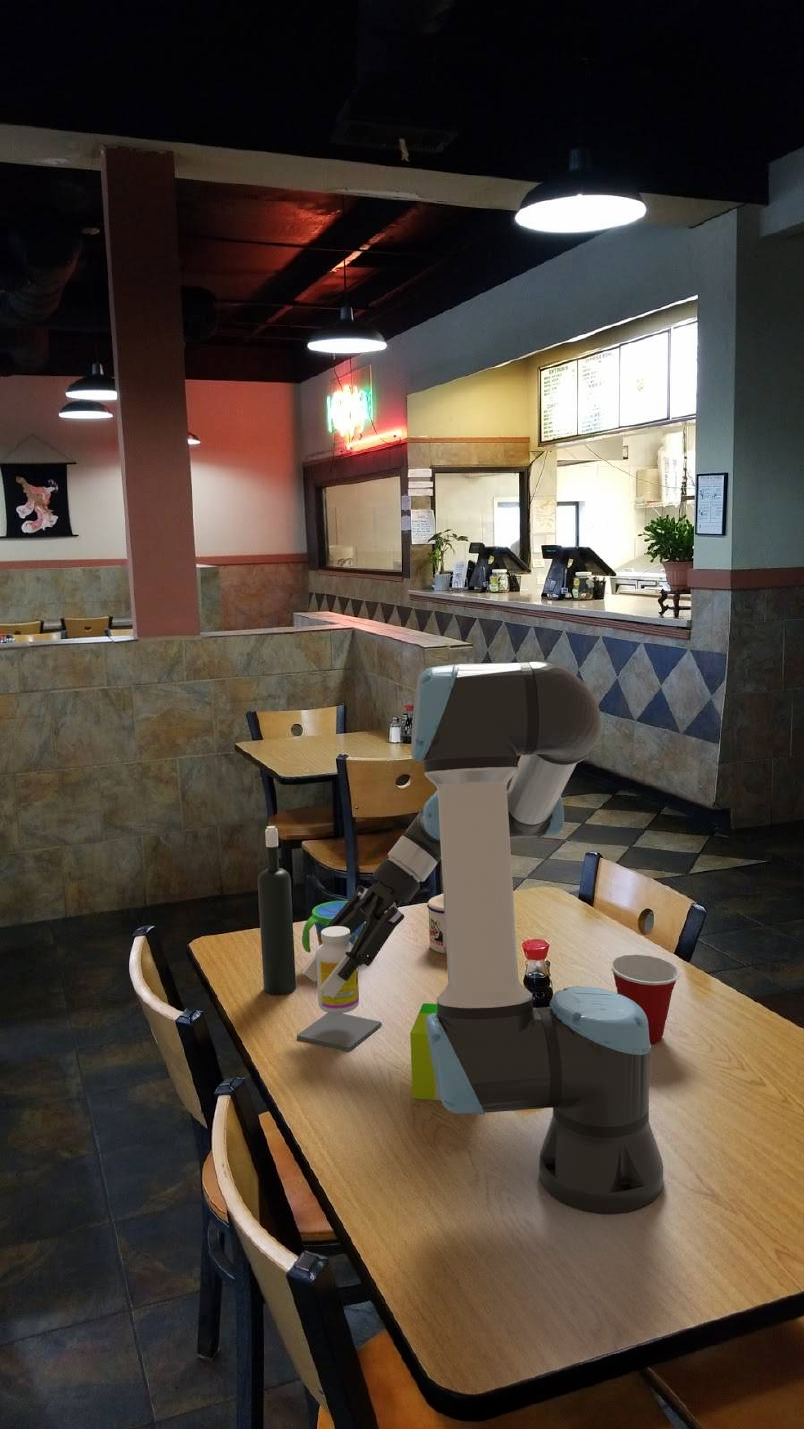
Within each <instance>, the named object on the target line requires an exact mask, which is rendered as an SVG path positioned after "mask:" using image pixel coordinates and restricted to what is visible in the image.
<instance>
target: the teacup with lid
mask: <svg viewBox="0 0 804 1429" xmlns="http://www.w3.org/2000/svg"><path fill="white" fill-rule="evenodd" d="M426 906H427V909H428V934H429V935H428V936H429V938H428V939H429V947H430V949H431V950H433V951H435V952H437V953H440V954H446V955H447V951H446V933H445V915H444V897H443V892H442V893H441V894H439V895H438V894H437V895H436V896H433V897H431V898H430V899H429V900H428V901H427V904H426Z"/></svg>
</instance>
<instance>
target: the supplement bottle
mask: <svg viewBox="0 0 804 1429" xmlns="http://www.w3.org/2000/svg"><path fill="white" fill-rule="evenodd" d="M321 940H322V942H323V944H322V945H320V946H319V945H318V947H317V949H316V951H315V955H316V965H317V983H316V984H317V1001H318V1007H319V1008H320V1010H322V1011H323V1012H325V1013H326V1014H327V1013H332V1014H340V1013H343V1014H347V1013H349V1012H352V1011H354V1010H355V1009H357V1007H358V1006H359V1004H360V988H359V970H358V968H359V966H358V967H357V968H356V970H355V971H354V972H353V974H352V975H351V976H350V978H349V979H348V980H347V981H346V982H345V983H344V985H343V986H342V987H341V989H340V990H339V991H338V993H337V994H336V995H335V997H334V998H331V997H330V996H329V995H327V994H326V993H325V992H323V991H322V990H321V989H320V987H321V985H322V984H323V983H324V981H325V980H326V979H327V978H328V976H329V975H330V974H331V972H332V971H333V970H334V968H335V967H336V966H337V964H338V963H339V962H340V960H341V959H342V958H343V956H344V955H346V952H351V950H352V948H353V946H354V945H353V944H352V943H350V942H349V940H350V930H349V929H348V928H346V927H342V926H333V927H328V928H325V929H323V930H322V931H321ZM346 956H347V955H346ZM347 957H348V956H347Z"/></svg>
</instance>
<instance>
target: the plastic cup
mask: <svg viewBox="0 0 804 1429" xmlns="http://www.w3.org/2000/svg"><path fill="white" fill-rule="evenodd" d="M609 964H610V970H611V971H612V973H613V978H614V985H615V987H616V993H618V994H620V995H623V996H625V997H627V998H629V999H631V1000H632V1001H634V1002H635V1003H636V1004H638V1005H639V1006H640V1007H641V1008H642V1010H643V1011H644V1013H645V1014H646V1017H647V1020H648V1028H649V1040H650V1044H651V1046H652V1045H656V1044H659V1043H660V1042H661V1041H662V1040H663V1036H664V1032H665V1028H666V1027H665V1026H666V1023H667V1022H666V1021H667V1018H668V1015H669V1014H668V1013H669V1009H670V1004H671V999H672V994H673V991H674V988H675V984H676V983H677V981H678V979H679V977H681V975H682V974H681V970H680V968H679V967H678V966H677V965H676V964H674V963H673V962H671V961H668V960H667V959H664V958H662V957H658V956H653V955H650V954H640V953H639V954H638V953H631V954H628V953H627V954H622V955H619V956H616V957H613V959H611V961H610V962H609Z"/></svg>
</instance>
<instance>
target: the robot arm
mask: <svg viewBox="0 0 804 1429" xmlns="http://www.w3.org/2000/svg"><path fill="white" fill-rule="evenodd" d="M416 682H417V684H416V687H415V694H414V701H413V702H414V703H413V708H412V709H413V710H412V711H413V712H412V720H411V721H412V722H411V734H410V735H411V736H410V738H411V739H410V740H411V747H410V748H411V751H410V754H411V758H412V760H413V761H416V762H419V763H421V762H423V772H424V776H425V777H426V778H427V779H428V780H429V781H430V782H431V783H432V784H433V785H434V786H435V787H436V789H437V790H436V791H435V792H434V793H433V794H432V795H431V796H430V797H429V798H428V799H427V800H426V802H425V803H424V805H423V807H422V809H420V811H419V813H418V814H417V815H416V817H415V818H414V819H413V821H412V822H411V824H409V826H408V828H407V829H405V830H406V831H405V832H404V833H403V834H402V835H401V836H400V837H399V839H398V840H397V841H396V843H395V844H394V845H393V847H392V848H391V849H390V851H388V853H387V856H388V859H387V858H385V859H383V860H382V861H381V862H380V863H379V865H378V866H377V867H376V869H375V870H374V871H373V874H372V876H373V878H374V879H375V882H374V883H373V884H372V885H371V886H369V887H368V888H366V887H364V886H363V885H362V884H359V885H358V886H357V887H356V889H355V891H354V892H353V894H352V895H351V897H350V898H349V899H348V900H347V901H348V902H347V903H346V904H345V905H344V907H343V908H342V909H341V910H340V911H339V912H338V914H337V915H336V916H335V917H334V918H333V920H332V921H331V922H330V923H329V924H328V926H327V927H326V928H328V927H333V926H342V927H346V928H348V929H349V930H350V935H351V934H352V933H353V932H354V931H356V930H357V929H358V928H359V927H360V926H361V925H362V924H363V923H364V922H365V924H364V926H363V928H362V930H361V932H360V934H359V936H358V938H357V940H356V942H355V944H354V946H353V948H352V950H351V952H346V955H347V956H348V957H347V956H346V955H344V956H343V958H342V959H341V960H340V962H339V963H338V964H337V966H336V967H335V968H334V970H333V971H332V972H331V974H330V975H329V976H328V978H327V979H326V980H325V981H324V983H323V984H322V985H321V987H320V989H321V990H322V991H323V992H325V993H326V994H327V995H329V996H330V997H331V998H334V997H335V995H336V994H337V993H338V991H339V990H340V989H341V987H342V986H343V985H344V983H345V982H346V981H347V980H348V979H349V978H350V976H351V975H352V974H353V972H354V971H355V970H356V968H357V967H358V968H359V967H360V966H362V965H365V966H366V967H369V966H371V964H372V963H373V961H374V960H375V958H376V957H377V955H378V954H379V953H380V951H381V950H382V948H383V947H384V945H385V943H386V942H387V941H388V940H389V937H390V936H391V934H392V933H393V931H394V930H395V928H396V927H397V926H398V925H399V924H400V923H401V922H402V921H403V920H404V918H405V914H403V913H402V912H401V911H400V910H399V908H400V904H401V902H405V903H409V902H410V901H411V900H412V899H413V897H415V894H416V893H417V892H418V891H419V889H420V886H421V884H420V883H421V882H422V883H423V882H425V881H426V879H427V878H428V877H429V875H431V873H433V870H434V869H435V867H436V866H437V865H438V863H439V862H440V861H441V873H442V874H441V875H442V878H441V879H442V893H443V897H444V915H445V933H446V951H447V954H446V967H447V985H446V987H445V988H444V989H443V990H442V992H441V993H440V994H439V995H438V996H437V998H436V1004H437V1011H438V1012H437V1014H436V1013H432V1014H431V1015H429V1016H427V1017H426V1026H427V1037H428V1043H429V1049H430V1054H431V1059H432V1065H433V1069H434V1074H435V1079H436V1083H437V1087H438V1091H439V1095H440V1098H441V1100H440V1101H441V1103H442V1105H443V1108H445V1110H447V1111H448V1112H450V1113H452V1114H458V1115H459V1114H479V1115H482V1116H483V1115H485V1114H489V1113H501V1112H502V1113H503V1112H514V1111H525V1110H527V1111H528V1110H540V1109H541V1110H542V1109H551V1108H552V1117H551V1120H550V1123H549V1125H548V1129H547V1130H546V1135H545V1138H544V1140H543V1143H542V1146H541V1149H540V1152H539V1160H538V1163H539V1165H538V1166H539V1168H538V1169H539V1171H538V1172H539V1178H540V1182H541V1184H542V1186H543V1187H544V1189H545V1190H546V1191H547V1192H548V1194H550V1195H551V1196H552V1197H554V1198H555V1199H557V1200H558V1201H560V1202H561V1203H563V1204H565V1205H568V1206H571V1207H573V1208H576V1209H579V1210H582V1211H587V1212H593V1213H599V1214H600V1213H601V1214H617V1213H625V1212H631V1211H635V1210H638V1209H641V1208H643V1207H645V1206H647V1205H648V1204H650V1203H652V1202H653V1201H655V1200H656V1199H657V1198H658V1196H659V1195H660V1194H661V1192H662V1190H663V1186H664V1163H663V1162H664V1161H663V1158H662V1155H661V1153H660V1150H659V1147H658V1144H657V1141H656V1138H655V1135H654V1132H653V1129H652V1127H651V1123H650V1110H649V1108H650V1051H651V1048H652V1045H651V1044H650V1040H649V1028H648V1020H647V1017H646V1014H645V1013H644V1011H643V1010H642V1008H641V1007H640V1006H639V1005H638V1004H636V1003H635V1002H634V1001H632V1000H631V999H629V998H627V997H625V996H623V995H620V994H618V993H617V992H615V991H611V990H607V989H604V988H601V987H593V986H579V985H577V986H570V987H564V988H563V989H559V990H557V991H556V992H554V993H553V995H552V998H551V1000H550V1002H549V1006H547V1007H534V1005H533V1003H534V1002H533V994H532V992H531V991H529V990H528V989H527V988H526V987H525V986H524V985H523V984H522V983H521V982H520V980H519V965H518V947H517V934H516V933H517V932H516V919H515V918H516V917H515V916H516V915H515V901H514V899H515V898H514V886H513V885H514V882H513V869H512V853H511V852H512V851H511V850H512V849H511V839H519V838H521V839H522V838H523V839H524V838H538V839H539V838H544V837H548V836H549V837H550V836H557V835H558V834H560V833H561V832H562V830H563V826H564V822H565V810H564V803H563V798H562V794H563V791H564V790H565V787H566V785H567V784H568V781H569V780H570V777H571V775H572V774H573V772H574V770H575V768H576V765H577V764H578V763H580V762H582V761H584V760H585V759H586V758H587V757H588V756H589V755H590V754H591V752H593V749H594V747H595V746H596V744H597V742H598V740H599V737H600V732H601V726H602V719H601V717H602V716H601V710H600V707H599V705H598V701H597V700H596V697H595V696H594V694H593V692H592V690H590V688H589V687H588V685H587V684H586V683H585V682H584V681H582V680H581V679H580V678H579V677H578V676H577V675H576V674H573V673H572V672H570V670H567V669H566V668H564V667H561V666H560V665H556V664H554V663H549V662H545V661H538V660H537V661H526V662H495V663H494V662H492V663H491V662H487V663H454V664H448V665H441V666H433V667H432V666H431V667H429V668H426V669H425V670H423V671H422V672H421V673H420V675H419V676H418V679H417V681H416ZM518 756H520V757H519V760H518ZM510 780H511V781H510ZM509 781H510V785H509V787H508V783H509ZM357 952H358V953H357ZM301 973H302V974H303V975H305V976H306V977H307V978H309V979H310V980H312V981H313V982H314V983H316V981H317V965H316V954H314V956H313V957H312V959H311V960H310V961H309V963H307V965H306V966H305V968H304V969H303V970H302V971H301Z"/></svg>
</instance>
